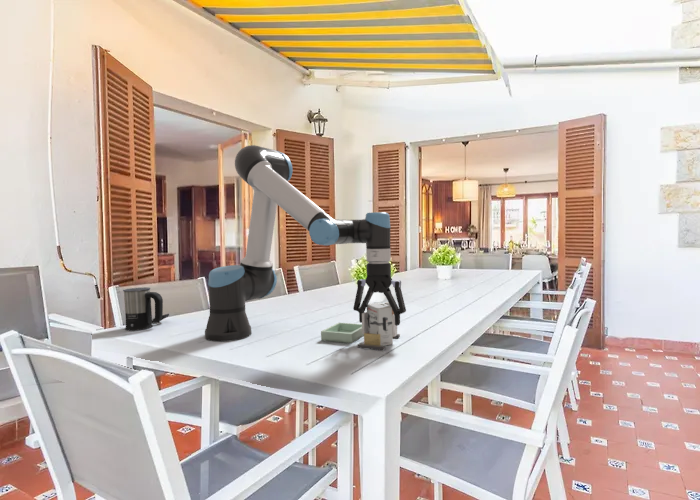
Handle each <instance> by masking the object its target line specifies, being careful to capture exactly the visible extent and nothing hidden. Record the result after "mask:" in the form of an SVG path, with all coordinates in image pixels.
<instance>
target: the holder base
mask: <svg viewBox="0 0 700 500" xmlns="http://www.w3.org/2000/svg"><path fill="white" fill-rule="evenodd" d="M400 337H401V334H400V333H397V335H396V336H395V337H394V338H393V339H400ZM357 348H358V349H365V350H374V351H385V350H386V345H384V346H382V345H370V344H364V343H362V342H361V343H360V342H359V344H357Z"/></svg>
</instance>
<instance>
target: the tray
mask: <svg viewBox="0 0 700 500" xmlns="http://www.w3.org/2000/svg"><path fill="white" fill-rule="evenodd" d="M362 338H364V334H362V323H351V322H338V323H335V324H332V325H331V326H329V327H326V328H325V329H323V330H320V339H321V341H323V342H332V343H344V344H353V343H355V342H356V341H358V340H359V339H362Z"/></svg>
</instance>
